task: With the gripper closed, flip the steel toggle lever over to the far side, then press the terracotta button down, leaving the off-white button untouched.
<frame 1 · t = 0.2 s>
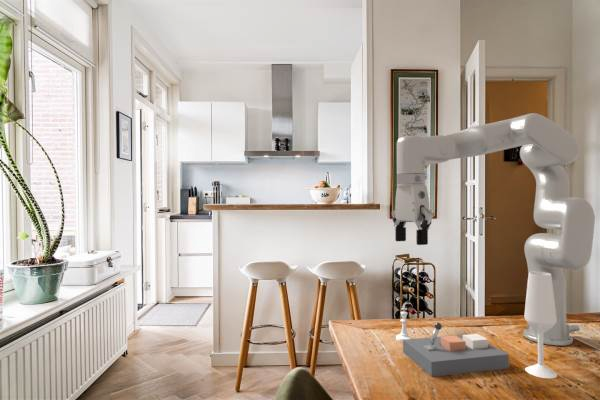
hand: (410, 242, 107), 30 cm above the table, tool pointing down, fingers open, 9 cm apart
panel: (453, 359, 102), on the table
champagne flute: (540, 372, 94), on the table
button terracotta: (453, 343, 102), point 4 cm above the table, slide at 0.0 cm
toggle lever: (436, 330, 101), point 8 cm above the table, hinge at -25.0°
button white: (475, 341, 103), point 4 cm above the table, slide at 0.0 cm
chess piece: (404, 339, 117), on the table
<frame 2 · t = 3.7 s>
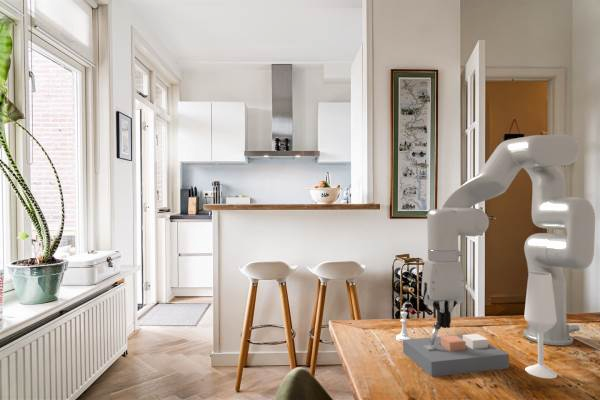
hand: (444, 326, 101), 9 cm above the table, tool pointing down, fingers closed
toggle lever: (435, 330, 101), point 8 cm above the table, hinge at -22.4°, touching gripper
everything else where it was.
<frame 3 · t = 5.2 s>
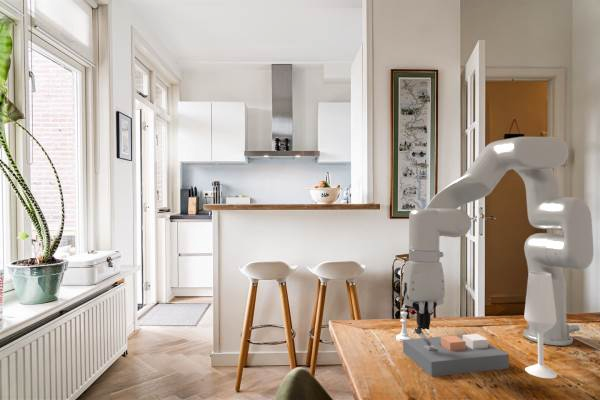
hand: (423, 327, 100), 9 cm above the table, tool pointing down, fingers closed
toggle lever: (420, 333, 100), point 8 cm above the table, hinge at 38.4°, touching gripper
everything else where it was.
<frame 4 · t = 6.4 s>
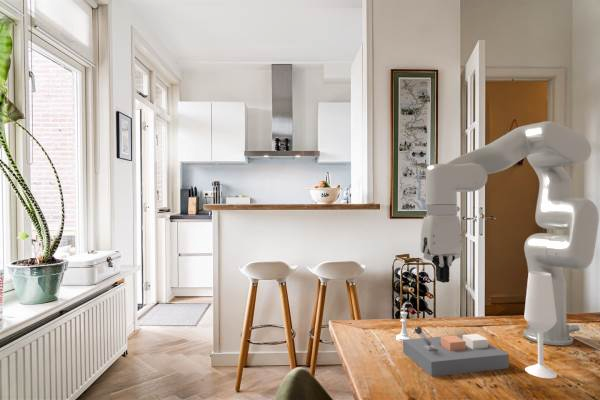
hand: (442, 281, 101), 21 cm above the table, tool pointing down, fingers closed
toggle lever: (420, 333, 100), point 8 cm above the table, hinge at 38.1°
everything else where it was.
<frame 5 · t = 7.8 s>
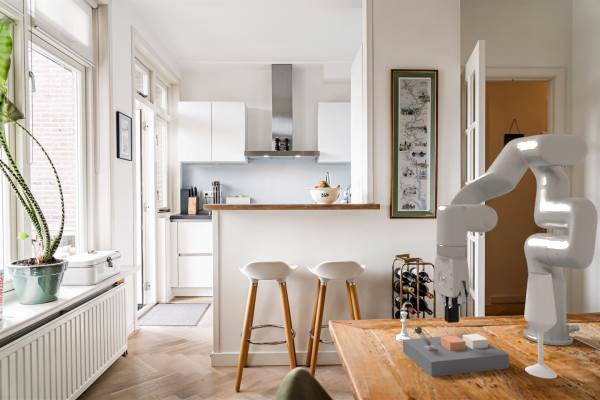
hand: (451, 321, 102), 10 cm above the table, tool pointing down, fingers closed
nothing on the table moved.
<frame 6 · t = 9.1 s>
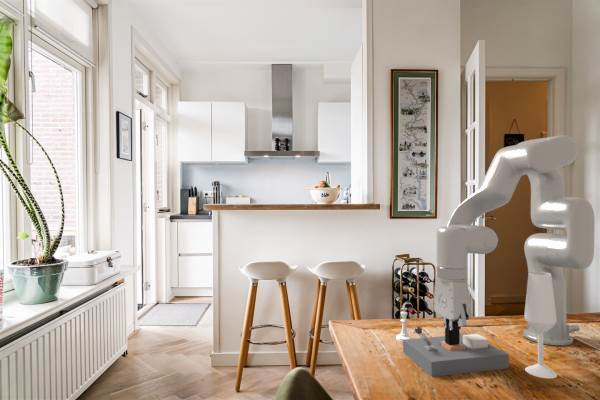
hand: (452, 343, 102), 4 cm above the table, tool pointing down, fingers closed
button terracotta: (453, 348, 102), point 3 cm above the table, slide at 1.2 cm, touching gripper
everything else where it was.
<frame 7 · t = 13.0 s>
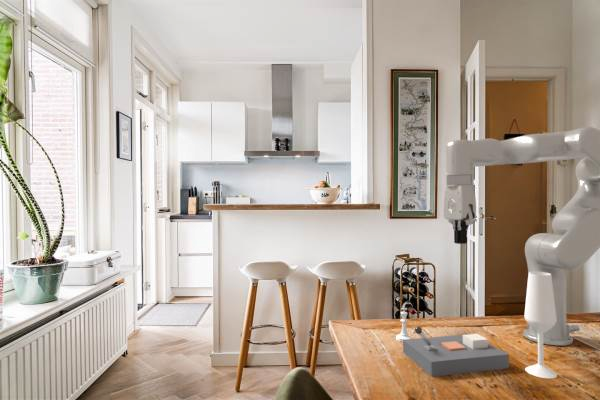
hand: (460, 243, 116), 29 cm above the table, tool pointing down, fingers closed
button terracotta: (453, 349, 102), point 3 cm above the table, slide at 1.6 cm
everything else where it was.
at the end: toggle lever at +38° (first picture: -25°); button terracotta slide at 1.6 cm; button white slide at 0.0 cm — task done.
